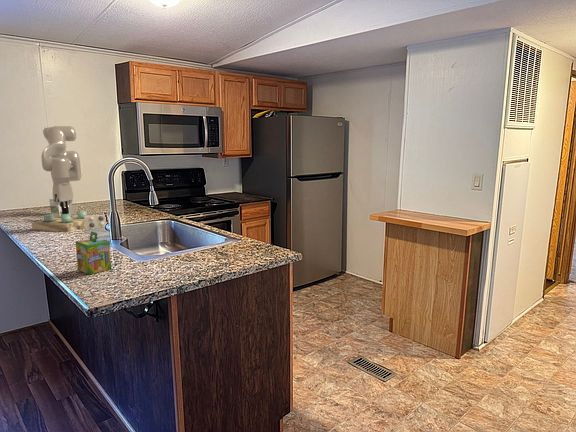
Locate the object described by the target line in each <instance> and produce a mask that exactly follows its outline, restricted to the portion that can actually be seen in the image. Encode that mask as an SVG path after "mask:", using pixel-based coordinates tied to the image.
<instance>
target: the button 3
mask: <svg viewBox="0 0 576 432" xmlns="http://www.w3.org/2000/svg"><path fill="white" fill-rule="evenodd" d="M76 216H78V219H84V216H88V215H87V211H85V210H83V211H77V212H76Z"/></svg>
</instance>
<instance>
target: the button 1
mask: <svg viewBox="0 0 576 432" xmlns="http://www.w3.org/2000/svg"><path fill="white" fill-rule="evenodd" d="M43 220H44V222H53V221H54V217H53V214H51V213H50V214H44V215H43Z"/></svg>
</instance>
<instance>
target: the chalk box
mask: <svg viewBox="0 0 576 432" xmlns="http://www.w3.org/2000/svg"><path fill="white" fill-rule="evenodd" d="M89 236H90V237H89V239H83V240H77V241H75V251H76V252H75V253H76V263H77V271H79V272H82V273H83V274H86V275H87V276H91V275H95V274H97V273H103V272H106V271H109V270H110V271H111V270H112V260H111V259H112V257H111V246H110V241H109V240H107V239H104V238H102V237H98V232H95V231H90V235H89ZM93 236H94V238H93Z"/></svg>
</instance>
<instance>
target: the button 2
mask: <svg viewBox="0 0 576 432" xmlns="http://www.w3.org/2000/svg"><path fill="white" fill-rule="evenodd" d="M61 221H62V223H71V215H64V216H61Z"/></svg>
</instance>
